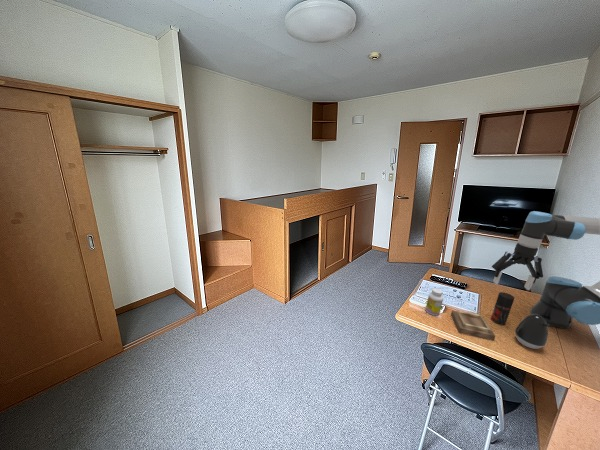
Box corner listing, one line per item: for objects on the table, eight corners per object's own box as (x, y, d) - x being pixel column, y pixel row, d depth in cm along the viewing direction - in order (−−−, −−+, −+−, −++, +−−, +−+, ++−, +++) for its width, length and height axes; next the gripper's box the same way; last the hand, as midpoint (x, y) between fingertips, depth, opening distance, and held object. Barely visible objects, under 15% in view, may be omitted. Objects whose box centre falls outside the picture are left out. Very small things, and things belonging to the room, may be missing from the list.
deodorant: (508, 326, 120) (517, 299, 116) (494, 324, 121) (503, 297, 117) (501, 318, 125) (509, 293, 121) (488, 316, 126) (496, 291, 122)
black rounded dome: (525, 352, 104) (537, 322, 100) (507, 334, 114) (517, 307, 109) (550, 354, 104) (563, 324, 99) (529, 336, 113) (540, 308, 109)
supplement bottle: (423, 307, 131) (427, 286, 128) (435, 308, 131) (440, 287, 127) (428, 315, 125) (433, 293, 121) (441, 316, 125) (447, 294, 121)
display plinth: (482, 321, 123) (484, 314, 121) (494, 340, 110) (496, 333, 109) (450, 314, 126) (452, 308, 125) (459, 332, 114) (461, 325, 112)
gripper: (552, 246, 112) (534, 286, 118) (493, 237, 116) (478, 277, 123) (566, 253, 105) (546, 295, 111) (501, 243, 109) (486, 284, 116)
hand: (510, 285), depth 117 cm, fingers open, 13 cm apart
